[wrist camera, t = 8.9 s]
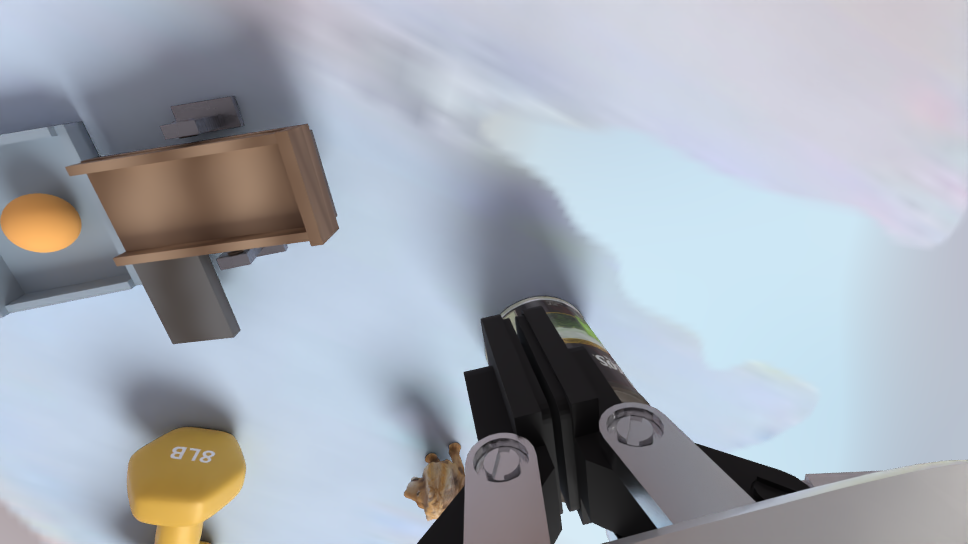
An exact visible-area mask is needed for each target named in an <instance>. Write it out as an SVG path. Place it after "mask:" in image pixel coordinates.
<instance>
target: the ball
mask: <svg viewBox="0 0 968 544" xmlns="http://www.w3.org/2000/svg"><path fill="white" fill-rule="evenodd" d="M0 224H1V228H2V231H3V233H4V234H5V236H6V237H7V238H8V239H9V240H10V241H11V242H12V243H14V244H15V245H17V246H19V247H21V248H23V249H25V250H29V251H33V252H40V253H47V252H55V251H59V250H61V249H64V248H66V247H68V246H69V245H71V244H72V243H73V242H74V241H75V240H76V239H77V238H78V236H79V234H80V232H81V227H82V223H81V218H80V216H79V214H78V212H77V211H76V209H75V208H74V207H73V206H72V205H71V204H70V203H68V202H67V201H65V200H63V199H62V198H59V197H57V196H54V195H49V194H43V193H33V194H27V195H23V196H20V197H18V198H16V199H14V200H12V201H11V202H10V203H8V204H7V205H6V207H5V208H4V209H3V211H2V214H1V217H0Z"/></svg>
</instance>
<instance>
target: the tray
mask: <svg viewBox="0 0 968 544" xmlns="http://www.w3.org/2000/svg"><path fill="white" fill-rule="evenodd" d="M97 157H99V155H98V153H97V151H96V149H95V147H94V145H93V143H92V141H91V139H90V137H89V135H88V133H87V130H86V128H85V126H84V124H83V122H76V123H69V124H62V125H56V126H50V127H44V128H38V129H32V130H26V131H20V132H14V133H8V134H2V135H0V217H1V214H2V211H3V209H4V208H5V207H6V205H7V204H8V203H10V202H11V201H12V200H14V199H16V198H18V197H20V196H23V195H27V194H33V193H43V194H49V195H54V196H57V197H59V198H62V199H63V200H65V201H67V202H68V203H70V204H71V205H72V206H73V207H74V208H75V209H76V211H77V212H78V214H79V216H80V218H81V223H82V227H81V232H80V234H79V236H78V238H77V239H76V240H75V241H74V242H73V243H72V244H71V245H69V246H68V247H66V248H64V249H61V250H59V251H55V252H47V253H40V252H33V251H29V250H25V249H23V248H21V247H19V246H17V245H15V244H14V243H12V242H11V241H10V240H9V239H8V238H7V237H6V236H5V234H4V233H3V231H2V228H1V224H0V318H2V317H4V316H6V315H8V314H9V313H14V312H19V311H24V310H29V309H34V308H39V307H44V306H49V305H54V304H59V303H64V302H69V301H74V300H79V299H84V298H89V297H94V296H99V295H104V294H109V293H114V292H119V291H124V290H129V289H132V288H133V287H134V286H136V285H141V284H142V282H141V280H140V278H139V276H138V274H137V273H136V271H135V269H134V267H133V265H132V264H131V265H124V266H116V264H115V262H114V260H113V258H114V257H116V256H118V255H120V254H122V253H124V252H126V251H125V249H124V247H123V245H122V243H121V241H120V239H119V237H118V235H117V233H116V231H115V229H114V227H113V225H112V223H111V221H110V219H109V217H108V215H107V213H106V211H105V209H104V208H103V206H102V204H101V202H100V200H99V198H98V196H97V194H96V192H95V190H94V188H93V186H92V184H91V182H90V180H89V178H88V176H87V174H82V175H76V176H69V174H68V172H67V170H66V168H65V167H66V166H70V165H74V164H78V163H81V162H80V161H83V160H87V159H92V158H97Z"/></svg>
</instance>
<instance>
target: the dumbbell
mask: <svg viewBox="0 0 968 544" xmlns="http://www.w3.org/2000/svg"><path fill="white" fill-rule="evenodd" d="M245 473H246V464H245V460H244V456H243V454H242V451H241V448H240V446H239V444H238V442H237V440H236V439H235V437H234V436H233V435H232V434H229V433H227V432H223V431H218V430H211V429H204V428H196V427H181V428H177V429H175V430H172V431H170V432H168V433H166V434H164V435H163V436H161V437H159V438H157V439H156V440H154V441H152V442H150V443H149V444H147V445H145V446H144V447H142V448H141V449H139V450H138V451H137V452H135V453H134V454H133V455H132V456H131V458H130V460H129V463H128V471H127V491H128V498H129V504H130V508H131V512H132V514H133V516H134V517H135V518H136V519H137V520H138V521H140V522H143V523H147V524H153V525H157V528H156V535H155V543H154V544H211V543H208V542H204V541H200V538H201V534H202V528H203V522H204V521H205V520H207V519H208V518H210V517H211V516H212V515H214V514H215V513H217V512H218V511H219V510H220V509H222V508H223V507H224V506H225V505H227V504H228V503H229V502H230V501H231V500H232V499H233V498H234V497H235V496H236V495H237V494H238V493H239V492H240V490H241V488H242V486H243V483H244V478H245Z"/></svg>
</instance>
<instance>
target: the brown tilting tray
mask: <svg viewBox="0 0 968 544" xmlns="http://www.w3.org/2000/svg"><path fill="white" fill-rule="evenodd" d="M80 162H81V163H78V164H74V165H70V166H66V167H65V168H66V170H67V172H68V174H69V176H76V175H82V174H87V176H88V178H89V180H90V182H91V184H92V186H93V188H94V190H95V192H96V194H97V196H98V198H99V200H100V202H101V204H102V206H103V208H104V209H105V211H106V213H107V215H108V217H109V219H110V221H111V223H112V225H113V227H114V229H115V231H116V233H117V235H118V237H119V239H120V241H121V243H122V245H123V247H124V249H125V251H126V252H124V253H122V254H120V255H118V256H116V257H114V258H113V260H114V262H115V264H116V266H124V265H131V264H132V265H133V267H134V269H135V271H136V273H137V274H138V276H139V278H140V280H141V282H142V284H143V286H144V288H145V290H146V292H147V294H148V296H149V298H150V300H151V302H152V304H153V306H154V308H155V310H156V312H157V314H158V316H159V318H160V320H161V322H162V324H163V326H164V328H165V330H166V332H167V334H168V336H169V337H170V339H171V341H172V343H173V344H178V343H187V342H196V341H205V340H214V339H223V338H232V337H235V336H236V335H237V334H238V332H239V331H240V328H239V325H238V323H237V321H236V318H235V316H234V314H233V311H232V309H231V307H230V304H229V302H228V300H227V297H226V295H225V293H224V290H223V288H222V286H221V283H220V281H219V279H218V276H217V274H216V272H215V269H214V267H213V265H212V262H211V260H210V258H209V256H208V254H215V253H222V252H230V251H237V250H245V249H252V248H260V247H268V246H275V245H283V244H290V243H298V242H305V241H310V244H311V246H316V245H323V244H324V243H325V242H326V241H327V240H328V239H329V238H330V237H331V236H332V235H333V234H334V233H335V232H336V231H337V230H338V229H339V227H338V224H337V220H336V217H337V213H336V210H335V206H334V203H333V200H332V196H331V193H330V190H329V186H328V183H327V179H326V176H325V173H324V169H323V166H322V162H321V159H320V156H319V152H318V149H317V146H316V142H315V139H314V135H313V132H312V130H310V129H309V126H308V124H303V125H297V126H290V127H284V128H278V129H272V130H265V131H259V132H253V133H247V134H240V135H234V136H228V137H222V138H216V139H209V140H203V141H197V142H191V143H184V144H178V145H172V146H166V147H159V148H153V149H147V150H141V151H135V152H128V153H122V154H116V155H110V156H103V157H97V158H92V159H87V160H83V161H80Z"/></svg>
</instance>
